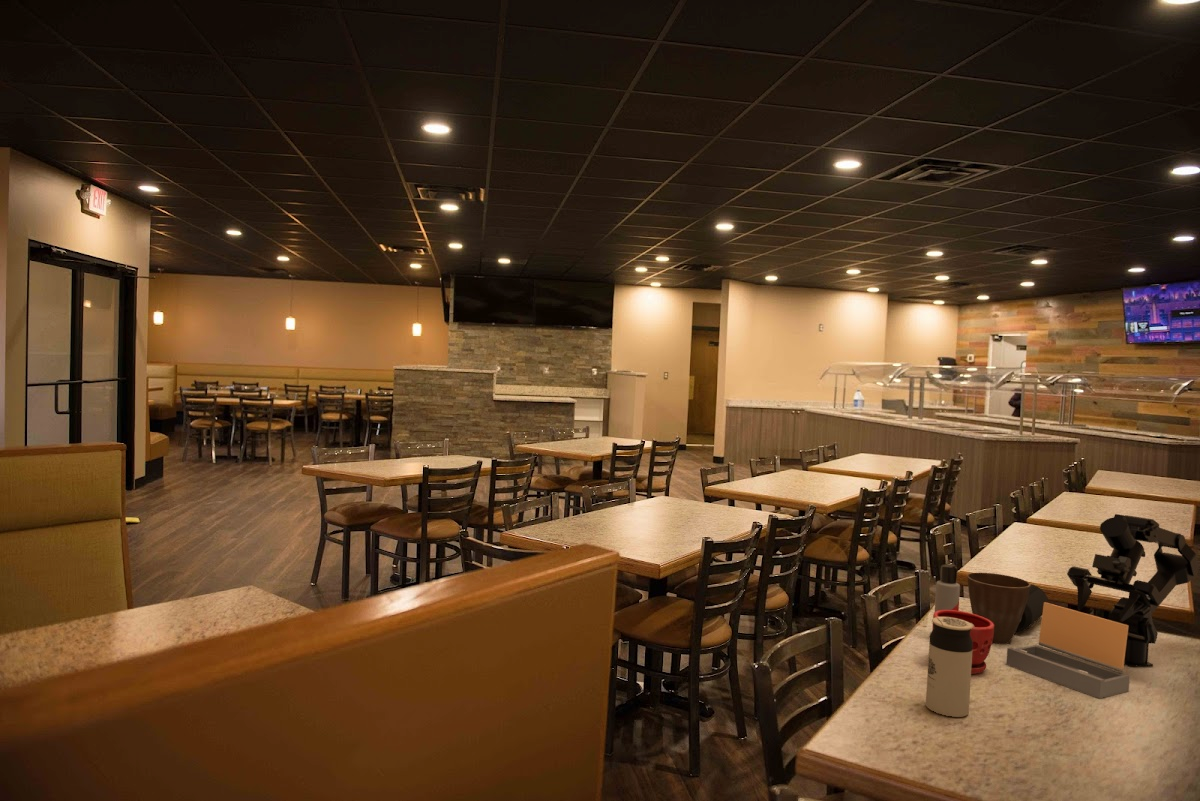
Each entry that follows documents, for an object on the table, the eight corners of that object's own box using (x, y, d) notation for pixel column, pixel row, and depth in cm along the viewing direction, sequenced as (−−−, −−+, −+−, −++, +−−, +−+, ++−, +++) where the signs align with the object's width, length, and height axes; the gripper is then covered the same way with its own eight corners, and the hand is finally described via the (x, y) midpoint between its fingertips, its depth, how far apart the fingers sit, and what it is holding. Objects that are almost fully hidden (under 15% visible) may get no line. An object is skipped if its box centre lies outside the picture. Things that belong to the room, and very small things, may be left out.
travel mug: (966, 706, 160) (971, 619, 160) (970, 721, 153) (976, 630, 152) (924, 699, 163) (929, 613, 163) (927, 713, 155) (932, 624, 155)
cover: (1038, 645, 191) (1040, 645, 191) (1120, 672, 174) (1123, 672, 174) (1043, 602, 191) (1046, 602, 191) (1126, 625, 174) (1128, 625, 175)
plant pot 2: (1038, 650, 199) (1042, 588, 199) (979, 647, 199) (983, 585, 199) (1008, 631, 214) (1012, 574, 213) (954, 629, 214) (957, 571, 214)
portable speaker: (1012, 612, 235) (1014, 579, 234) (1049, 620, 228) (1051, 586, 228) (988, 629, 215) (990, 594, 215) (1028, 639, 209) (1030, 602, 209)
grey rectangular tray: (1034, 658, 192) (1036, 640, 192) (1128, 691, 173) (1129, 670, 173) (1006, 664, 187) (1007, 645, 187) (1099, 698, 168) (1101, 677, 168)
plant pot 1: (930, 671, 180) (933, 620, 179) (929, 654, 192) (932, 606, 192) (993, 682, 175) (997, 629, 174) (988, 664, 187) (991, 614, 187)
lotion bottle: (959, 645, 200) (963, 568, 199) (935, 642, 201) (940, 565, 201) (953, 638, 206) (958, 563, 205) (930, 636, 207) (935, 561, 206)
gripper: (1071, 534, 193) (1046, 586, 189) (1156, 549, 178) (1131, 607, 173) (1087, 559, 198) (1063, 611, 193) (1171, 577, 182) (1148, 633, 177)
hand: (1099, 614), depth 184 cm, fingers open, 9 cm apart
